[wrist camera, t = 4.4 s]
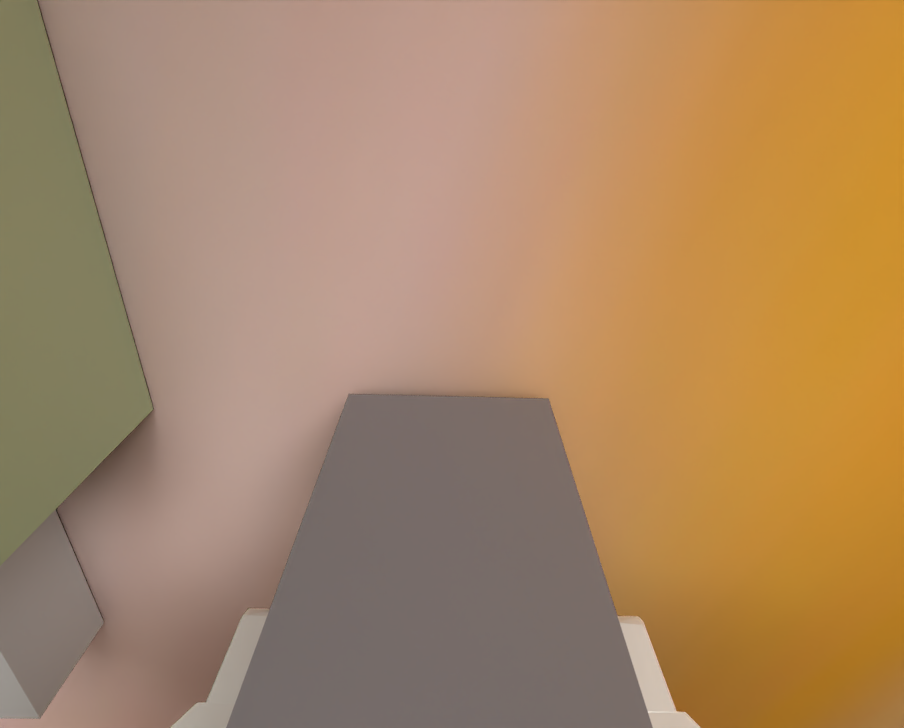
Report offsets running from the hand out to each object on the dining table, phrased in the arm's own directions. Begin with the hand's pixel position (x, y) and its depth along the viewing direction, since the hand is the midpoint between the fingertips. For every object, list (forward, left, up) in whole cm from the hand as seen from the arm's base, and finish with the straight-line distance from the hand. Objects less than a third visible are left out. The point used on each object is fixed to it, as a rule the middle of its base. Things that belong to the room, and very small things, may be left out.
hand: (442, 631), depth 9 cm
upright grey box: (0, 0, -3) cm, 3 cm away
